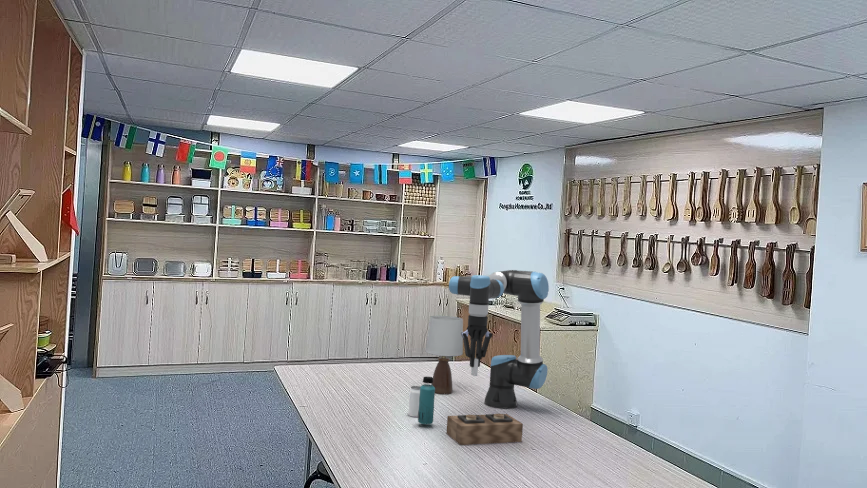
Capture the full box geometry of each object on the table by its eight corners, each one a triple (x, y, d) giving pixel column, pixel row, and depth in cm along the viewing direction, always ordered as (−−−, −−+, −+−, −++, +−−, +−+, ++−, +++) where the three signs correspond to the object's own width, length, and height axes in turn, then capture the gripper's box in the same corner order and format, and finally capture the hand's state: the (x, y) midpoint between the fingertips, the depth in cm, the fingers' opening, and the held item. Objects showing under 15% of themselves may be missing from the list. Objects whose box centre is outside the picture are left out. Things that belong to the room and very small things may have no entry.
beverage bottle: (435, 425, 269) (438, 376, 269) (429, 429, 263) (433, 379, 262) (420, 422, 271) (423, 374, 271) (414, 426, 265) (418, 377, 265)
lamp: (467, 394, 325) (472, 320, 324) (436, 397, 314) (441, 321, 314) (445, 386, 340) (450, 315, 340) (415, 388, 330) (420, 315, 329)
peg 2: (500, 432, 261) (501, 413, 261) (504, 436, 257) (505, 416, 257) (490, 433, 260) (492, 413, 260) (495, 436, 256) (496, 416, 256)
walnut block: (505, 430, 267) (506, 411, 267) (521, 441, 254) (523, 421, 254) (446, 433, 258) (447, 413, 258) (460, 445, 245) (461, 423, 245)
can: (421, 418, 278) (423, 390, 277) (406, 416, 279) (408, 388, 279) (424, 414, 284) (426, 386, 284) (410, 412, 285) (411, 385, 285)
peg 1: (472, 434, 257) (473, 414, 257) (476, 437, 253) (478, 417, 253) (463, 434, 255) (464, 414, 255) (467, 437, 252) (468, 417, 252)
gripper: (489, 313, 261) (485, 372, 261) (458, 313, 256) (455, 373, 257) (497, 316, 254) (493, 377, 254) (466, 316, 249) (462, 377, 250)
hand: (474, 375), depth 256 cm, fingers closed
